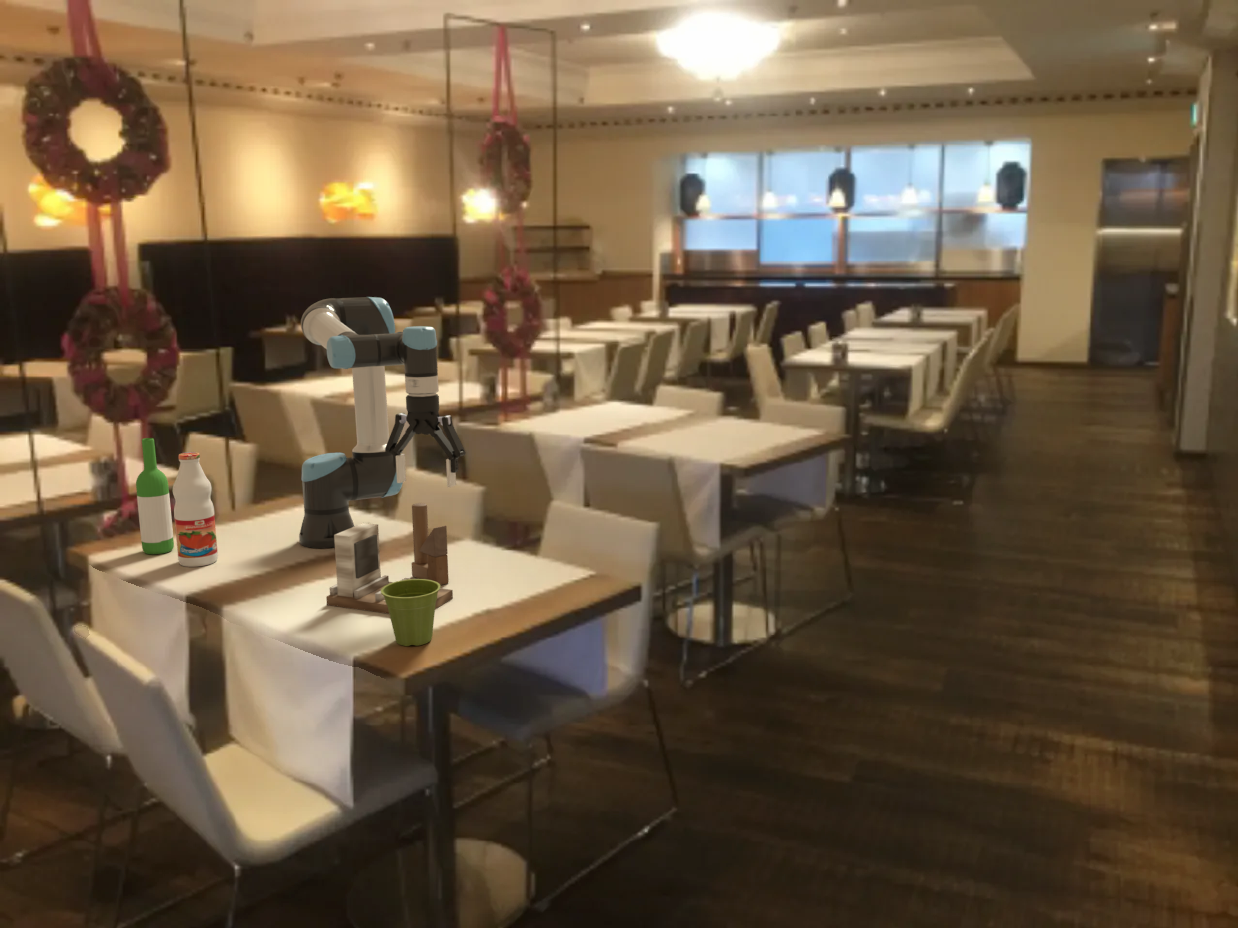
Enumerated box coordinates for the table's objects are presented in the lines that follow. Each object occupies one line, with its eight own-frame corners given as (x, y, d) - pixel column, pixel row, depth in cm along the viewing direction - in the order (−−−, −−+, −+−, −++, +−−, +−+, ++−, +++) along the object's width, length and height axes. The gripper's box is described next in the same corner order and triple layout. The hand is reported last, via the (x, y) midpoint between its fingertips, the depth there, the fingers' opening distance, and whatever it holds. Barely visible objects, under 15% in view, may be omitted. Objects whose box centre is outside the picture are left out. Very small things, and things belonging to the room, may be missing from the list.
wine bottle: (180, 550, 286) (169, 438, 280) (151, 557, 280) (140, 442, 274) (165, 545, 291) (154, 435, 285) (136, 551, 285) (125, 439, 279)
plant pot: (400, 628, 228) (398, 576, 225) (452, 633, 224) (450, 581, 222) (372, 648, 217) (369, 594, 214) (426, 654, 213) (424, 599, 211)
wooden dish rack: (363, 586, 255) (359, 520, 252) (452, 598, 246) (450, 530, 243) (326, 604, 242) (322, 535, 239) (419, 618, 234) (416, 546, 230)
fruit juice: (214, 554, 282) (205, 448, 276) (221, 563, 274) (212, 455, 268) (176, 560, 277) (166, 452, 272) (181, 569, 269) (171, 458, 264)
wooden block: (436, 586, 255) (433, 512, 251) (411, 576, 262) (408, 504, 259) (449, 583, 257) (446, 509, 254) (424, 573, 265) (421, 501, 261)
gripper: (367, 394, 252) (372, 483, 256) (461, 398, 243) (465, 491, 247) (385, 389, 259) (390, 477, 263) (477, 394, 249) (481, 484, 254)
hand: (426, 484), depth 255 cm, fingers open, 13 cm apart
